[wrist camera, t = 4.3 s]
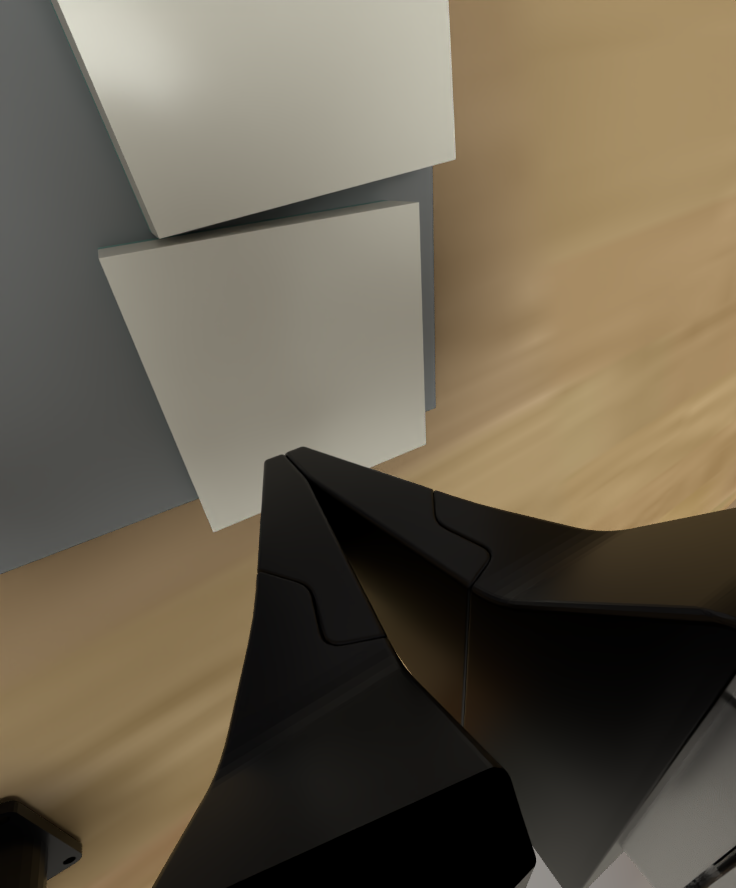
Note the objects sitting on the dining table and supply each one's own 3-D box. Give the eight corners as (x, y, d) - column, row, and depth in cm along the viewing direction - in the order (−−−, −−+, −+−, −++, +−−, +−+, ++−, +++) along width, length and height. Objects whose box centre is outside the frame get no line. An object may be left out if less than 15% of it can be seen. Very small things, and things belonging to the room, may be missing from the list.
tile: (201, 497, 15) (397, 422, 18) (213, 532, 13) (426, 444, 16) (97, 247, 10) (382, 200, 13) (98, 258, 9) (419, 202, 12)
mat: (427, 402, 19) (435, 407, 18) (-3, 563, 13) (-7, 576, 13) (411, -209, 10) (427, -228, 10) (-927, -510, 4) (-1043, -590, 4)
